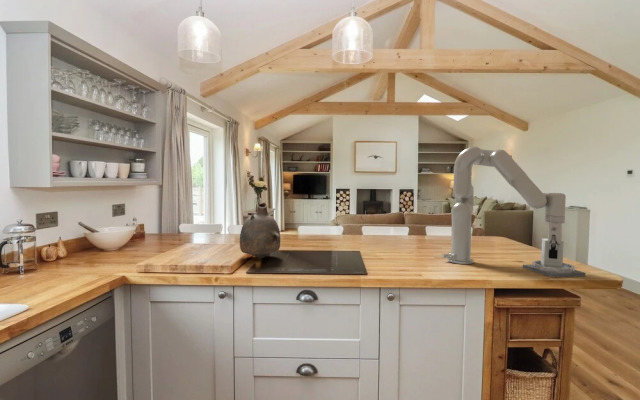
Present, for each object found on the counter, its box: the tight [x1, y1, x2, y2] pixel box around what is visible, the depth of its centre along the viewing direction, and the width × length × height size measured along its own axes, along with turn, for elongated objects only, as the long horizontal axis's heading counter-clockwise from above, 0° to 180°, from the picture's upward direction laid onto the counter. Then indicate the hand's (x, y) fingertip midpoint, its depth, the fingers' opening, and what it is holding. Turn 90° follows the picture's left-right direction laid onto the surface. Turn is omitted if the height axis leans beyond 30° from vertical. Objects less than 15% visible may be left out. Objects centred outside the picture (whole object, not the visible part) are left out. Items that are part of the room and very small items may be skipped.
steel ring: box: [531, 259, 576, 273], centre depth 156 cm, size 16×16×2 cm
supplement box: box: [540, 237, 564, 268], centre depth 156 cm, size 7×7×13 cm
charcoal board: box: [522, 263, 586, 278], centre depth 156 cm, size 17×17×2 cm
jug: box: [239, 202, 281, 259], centre depth 178 cm, size 24×21×30 cm
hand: (553, 256), depth 156 cm, fingers closed on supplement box, 8 cm apart
